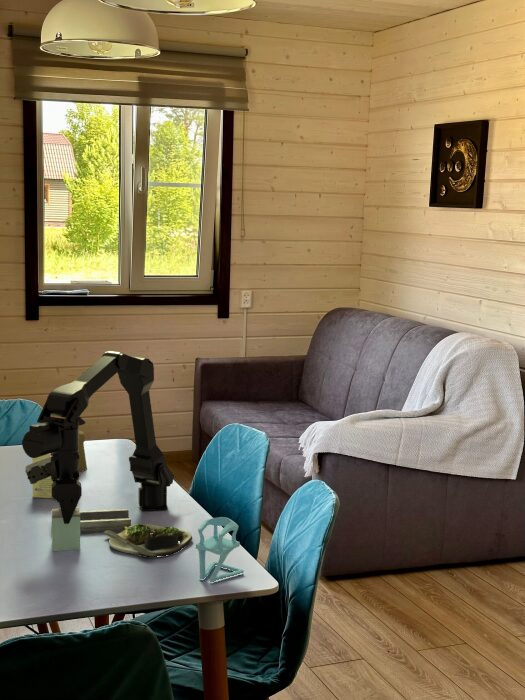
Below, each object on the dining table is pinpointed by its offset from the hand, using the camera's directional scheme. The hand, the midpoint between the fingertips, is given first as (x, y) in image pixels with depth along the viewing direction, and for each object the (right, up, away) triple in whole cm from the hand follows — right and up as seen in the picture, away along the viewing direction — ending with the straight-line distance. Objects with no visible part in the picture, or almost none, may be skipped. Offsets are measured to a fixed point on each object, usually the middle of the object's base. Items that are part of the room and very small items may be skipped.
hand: (66, 516), depth 202 cm
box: (-10, -1, +36) cm, 38 cm away
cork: (-10, +2, +61) cm, 61 cm away
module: (0, -7, +1) cm, 7 cm away
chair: (+34, -10, -13) cm, 38 cm away
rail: (+3, -5, +14) cm, 15 cm away
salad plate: (+18, -7, +3) cm, 20 cm away
